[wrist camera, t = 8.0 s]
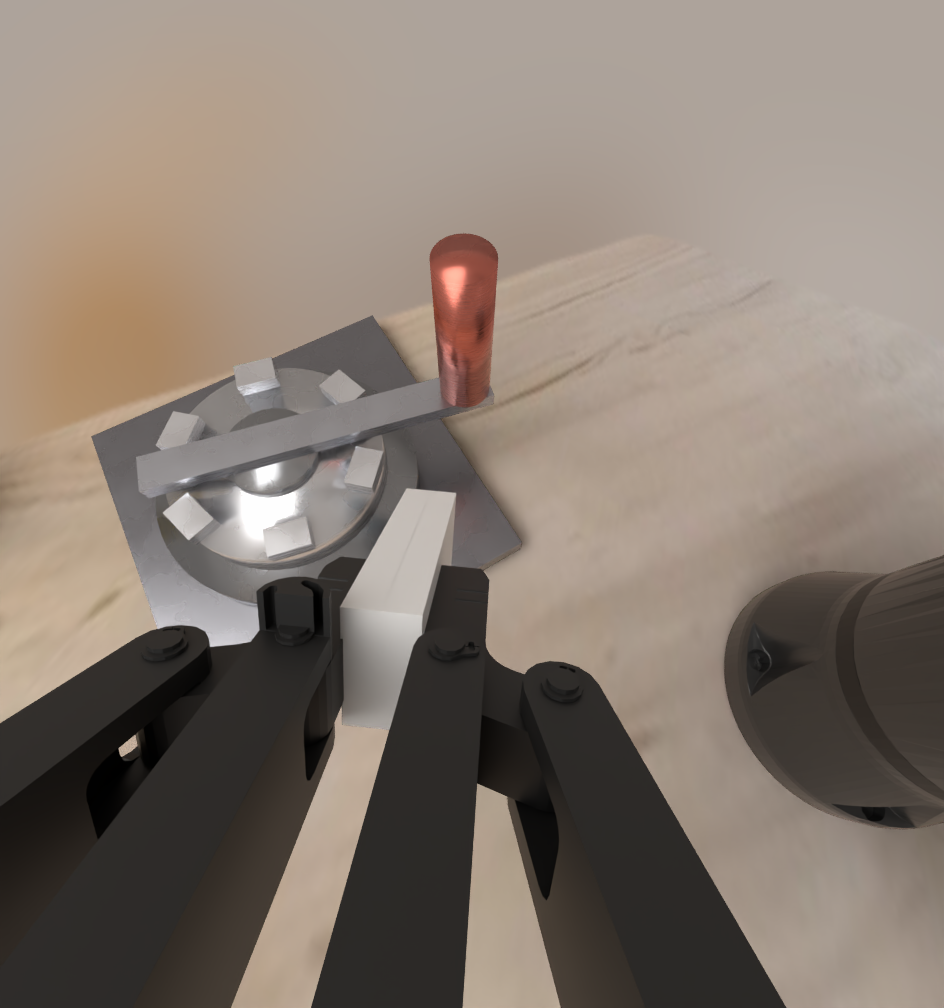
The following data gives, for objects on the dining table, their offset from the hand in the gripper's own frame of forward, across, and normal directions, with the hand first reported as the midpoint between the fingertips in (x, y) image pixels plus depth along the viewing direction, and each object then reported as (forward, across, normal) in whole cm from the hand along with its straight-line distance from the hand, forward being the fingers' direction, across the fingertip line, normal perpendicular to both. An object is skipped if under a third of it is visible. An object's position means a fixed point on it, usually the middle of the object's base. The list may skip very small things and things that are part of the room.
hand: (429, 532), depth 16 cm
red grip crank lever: (+20, -9, -4) cm, 22 cm away
